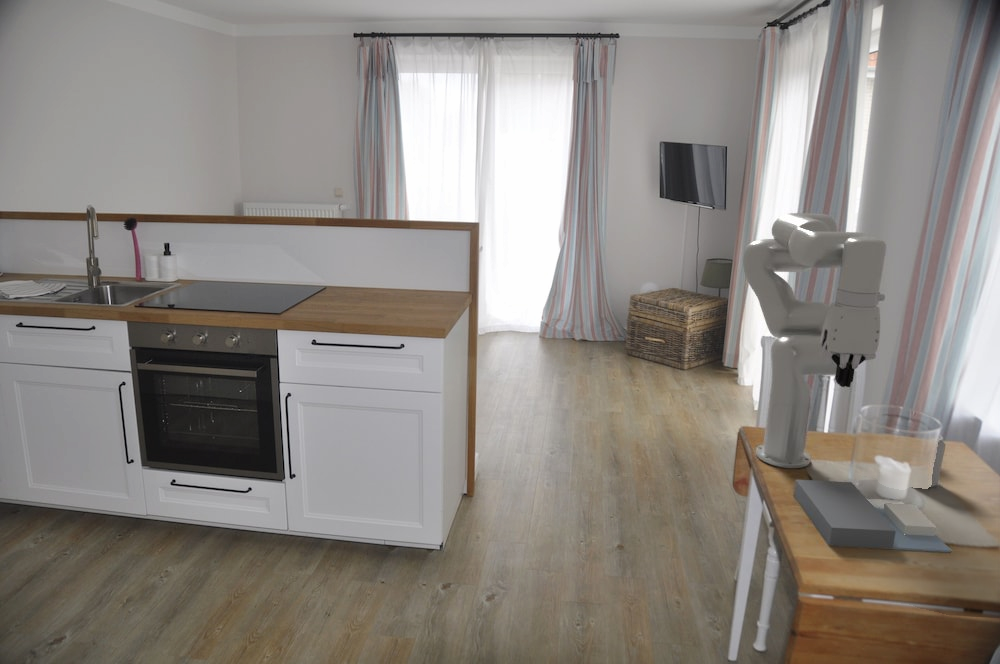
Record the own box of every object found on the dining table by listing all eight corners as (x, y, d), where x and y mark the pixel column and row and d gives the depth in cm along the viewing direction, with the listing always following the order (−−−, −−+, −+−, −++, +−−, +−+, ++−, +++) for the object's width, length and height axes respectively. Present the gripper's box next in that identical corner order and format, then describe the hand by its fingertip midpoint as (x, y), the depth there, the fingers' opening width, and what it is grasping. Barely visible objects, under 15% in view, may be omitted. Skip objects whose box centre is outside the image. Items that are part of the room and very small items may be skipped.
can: (942, 491, 158) (952, 442, 154) (906, 487, 159) (916, 439, 156) (929, 476, 165) (939, 429, 162) (895, 473, 166) (904, 426, 163)
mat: (848, 498, 153) (849, 497, 153) (900, 501, 153) (900, 499, 153) (892, 549, 134) (892, 547, 134) (951, 552, 133) (951, 550, 133)
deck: (793, 495, 154) (795, 479, 153) (848, 498, 153) (851, 482, 152) (828, 545, 135) (831, 527, 134) (892, 549, 134) (895, 530, 133)
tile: (913, 504, 146) (912, 513, 147) (884, 503, 147) (883, 511, 147) (936, 527, 138) (934, 536, 138) (905, 525, 138) (903, 534, 139)
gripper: (885, 296, 143) (871, 380, 148) (811, 294, 144) (800, 377, 149) (903, 304, 136) (888, 392, 141) (825, 301, 137) (813, 389, 142)
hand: (843, 384), depth 145 cm, fingers closed
